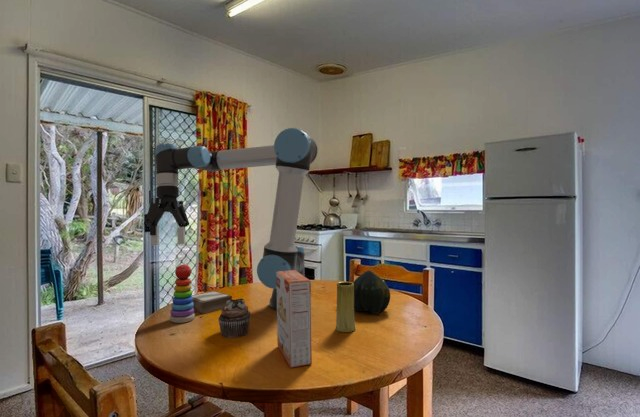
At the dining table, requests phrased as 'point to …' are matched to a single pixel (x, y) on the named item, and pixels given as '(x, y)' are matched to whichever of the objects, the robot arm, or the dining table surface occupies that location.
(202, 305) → the plinth
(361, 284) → the squash
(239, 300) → the cupcake
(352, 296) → the vase
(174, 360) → the dining table surface
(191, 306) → the stacking toy
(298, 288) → the cracker box
